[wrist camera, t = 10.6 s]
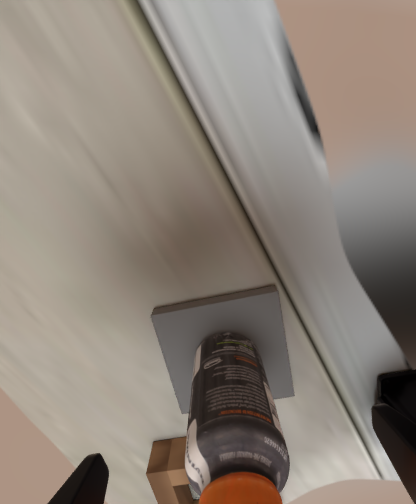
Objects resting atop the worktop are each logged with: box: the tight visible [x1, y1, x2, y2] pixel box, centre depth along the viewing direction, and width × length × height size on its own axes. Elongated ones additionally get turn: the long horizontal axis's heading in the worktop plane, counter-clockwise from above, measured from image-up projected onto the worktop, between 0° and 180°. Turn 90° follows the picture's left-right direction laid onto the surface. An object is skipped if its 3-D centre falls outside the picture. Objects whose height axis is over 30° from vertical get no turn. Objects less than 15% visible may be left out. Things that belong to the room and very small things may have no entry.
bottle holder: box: [146, 437, 199, 504], centre depth 25 cm, size 12×12×3 cm
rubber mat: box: [151, 285, 295, 414], centre depth 22 cm, size 11×11×1 cm
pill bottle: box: [185, 332, 290, 504], centre depth 16 cm, size 6×6×11 cm
